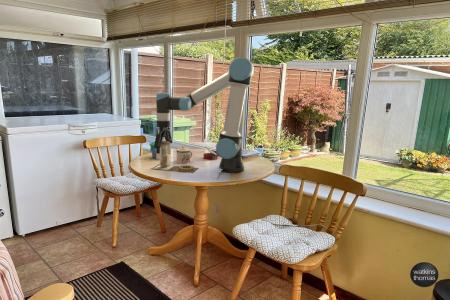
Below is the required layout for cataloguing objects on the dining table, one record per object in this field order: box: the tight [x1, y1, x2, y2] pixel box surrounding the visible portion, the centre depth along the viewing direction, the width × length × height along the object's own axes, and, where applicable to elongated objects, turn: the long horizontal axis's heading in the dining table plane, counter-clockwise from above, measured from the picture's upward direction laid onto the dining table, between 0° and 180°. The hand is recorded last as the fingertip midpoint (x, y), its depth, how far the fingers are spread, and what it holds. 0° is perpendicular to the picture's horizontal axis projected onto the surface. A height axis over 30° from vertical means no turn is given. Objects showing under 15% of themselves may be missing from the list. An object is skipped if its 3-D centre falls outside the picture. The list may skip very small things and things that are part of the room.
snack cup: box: [149, 141, 156, 159], centre depth 210 cm, size 16×10×10 cm
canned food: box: [203, 146, 218, 161], centre depth 213 cm, size 11×10×10 cm
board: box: [150, 164, 200, 174], centre depth 178 cm, size 26×12×3 cm, turn 78°
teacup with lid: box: [175, 145, 193, 164], centre depth 197 cm, size 12×9×12 cm
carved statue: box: [159, 140, 171, 168], centre depth 178 cm, size 7×4×15 cm, turn 78°
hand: (163, 156), depth 178 cm, fingers open, 13 cm apart
